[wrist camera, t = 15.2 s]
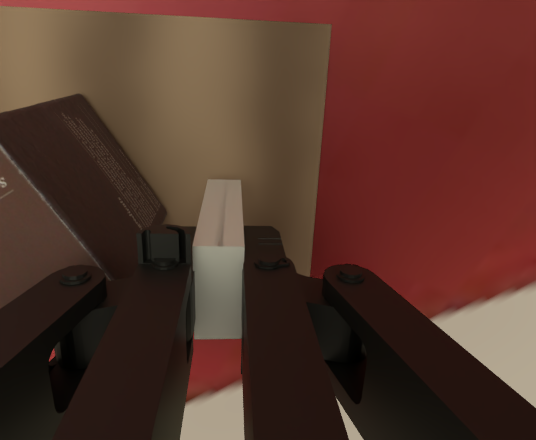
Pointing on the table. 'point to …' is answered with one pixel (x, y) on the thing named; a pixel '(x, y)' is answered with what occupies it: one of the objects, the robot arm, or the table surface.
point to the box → (67, 196)
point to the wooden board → (189, 103)
